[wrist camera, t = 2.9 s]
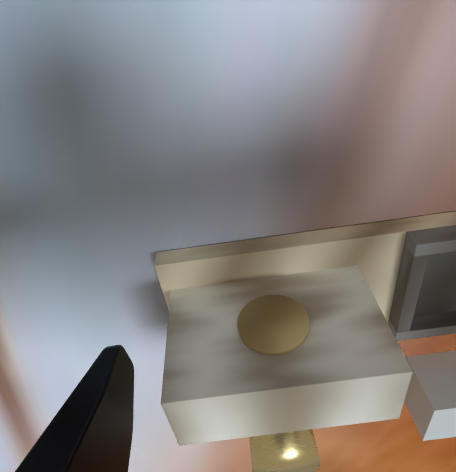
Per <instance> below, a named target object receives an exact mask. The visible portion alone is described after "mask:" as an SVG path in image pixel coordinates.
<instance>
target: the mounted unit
mask: <svg viewBox="0 0 456 472" xmlns="http://www.w3.org/2000/svg"><path fill="white" fill-rule="evenodd" d="M154 267H155V270H156V273H157V276H158V279H159V283H160V286H161V289H162V292H163V295H164V298H165V301H166V304H167V307H168V310H169V316H168V327H167V339H166V351H165V362H164V374H163V385H162V397H161V405H162V407H163V410H164V412H165V414H166V416H167V419H168V421H169V423H170V425H171V428H172V430H173V432H174V435H175V437H176V439H177V441H178V444H179V446H180V445H188V444H196V443H204V442H212V441H220V440H228V439H236V438H245V437H253V436H261V435H269V434H277V433H285V432H293V431H301V430H309V429H317V428H326V427H334V426H342V425H350V424H358V423H366V422H374V421H382V420H390V419H398V418H399V417H400V413H401V410H402V407H403V403H404V400H405V397H406V393H407V390H408V386H409V383H410V380H411V376H412V373H413V371H412V369H411V367H410V365H409V364H408V362H407V360H406V358H405V356H404V354H403V352H402V350H401V348H400V346H399V344H398V342H397V341H399V340H407V339H414V338H422V337H430V336H438V335H445V334H453V333H456V211H454V212H447V213H440V214H432V215H425V216H418V217H410V218H403V219H396V220H389V221H381V222H374V223H367V224H359V225H352V226H345V227H337V228H330V229H323V230H316V231H308V232H301V233H294V234H286V235H279V236H272V237H265V238H257V239H250V240H243V241H235V242H228V243H221V244H213V245H206V246H199V247H192V248H184V249H177V250H170V251H162V252H156V256H155V263H154Z"/></svg>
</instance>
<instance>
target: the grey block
mask: <svg viewBox="0 0 456 472" xmlns="http://www.w3.org/2000/svg"><path fill="white" fill-rule="evenodd" d="M406 360H407V362H408V364H409V365H410V367H411V369H412V371H413V373H412V376H411V380H410V383H409V386H408V390H407V393H406V397H405V400H404V402H405V404H406V406H407V408H408V410H409V412H410V415H411V417H412V419H413V421H414V423H415V425H416V427H417V430H418V432H419V434H420V436H421V438H422V440H423V441H425V440H433V439H441V438H450V437H456V350H454V351H446V352H438V353H431V354H423V355H415V356H407V357H406Z"/></svg>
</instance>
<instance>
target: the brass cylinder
mask: <svg viewBox="0 0 456 472" xmlns="http://www.w3.org/2000/svg"><path fill="white" fill-rule="evenodd" d="M249 443H250V452H251V462H252V472H315V471H316V470H317V469H318V468H319V466H320V460H319V456H318V451H317V447H316V443H315V439H314V435H313V431H312V429H309V430H301V431H293V432H285V433H277V434H269V435H261V436H253V437H249Z"/></svg>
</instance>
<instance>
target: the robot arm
mask: <svg viewBox="0 0 456 472" xmlns="http://www.w3.org/2000/svg"><path fill="white" fill-rule="evenodd" d="M133 399H134V367H133V363H132V361H131V359H130V358H129V356H128V354H127V353H126V351H125V349H124V348H123V346H121V345H114V346H109V347H106V348H105V349H103V351H102V352H101V353H100V355H99V356H98V358H97V359H96V360H95V362H94V363H93V364H92V366H91V367H90V369H89V370H88V371H87V373H86V374H85V376H84V377H83V378H82V380H81V381H80V382H79V384H78V385H77V387H76V388H75V389H74V391H73V392H72V394H71V395H70V396H69V398H68V399H67V400H66V402H65V403H64V405H63V406H62V407H61V409H60V410H59V411H58V413H57V414H56V416H55V417H54V418H53V420H52V421H51V423H50V424H49V425H48V427H47V428H46V429H45V431H44V432H43V434H42V435H41V436H40V438H39V439H38V440H37V442H36V443H35V445H34V446H33V447H32V449H31V450H30V452H29V453H28V454H27V456H26V457H25V458H24V460H23V461H22V463H21V464H20V465H19V467H18V468H17V470H16V471H15V472H128V465H129V457H130V450H131V442H132V432H133Z"/></svg>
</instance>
